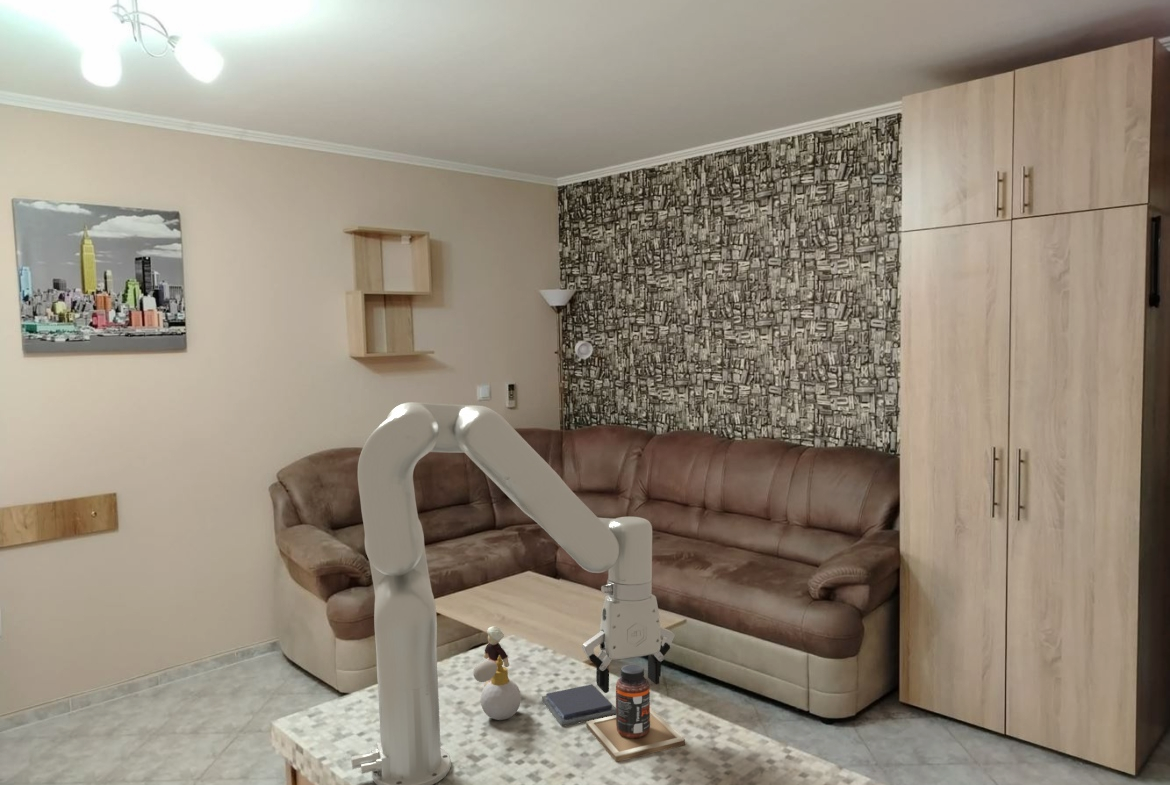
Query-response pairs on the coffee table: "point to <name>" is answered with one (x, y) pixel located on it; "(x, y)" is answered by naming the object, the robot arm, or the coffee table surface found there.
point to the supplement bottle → (632, 702)
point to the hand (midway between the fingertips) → (628, 685)
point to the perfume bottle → (497, 690)
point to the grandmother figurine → (495, 647)
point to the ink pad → (578, 705)
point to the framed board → (628, 748)
